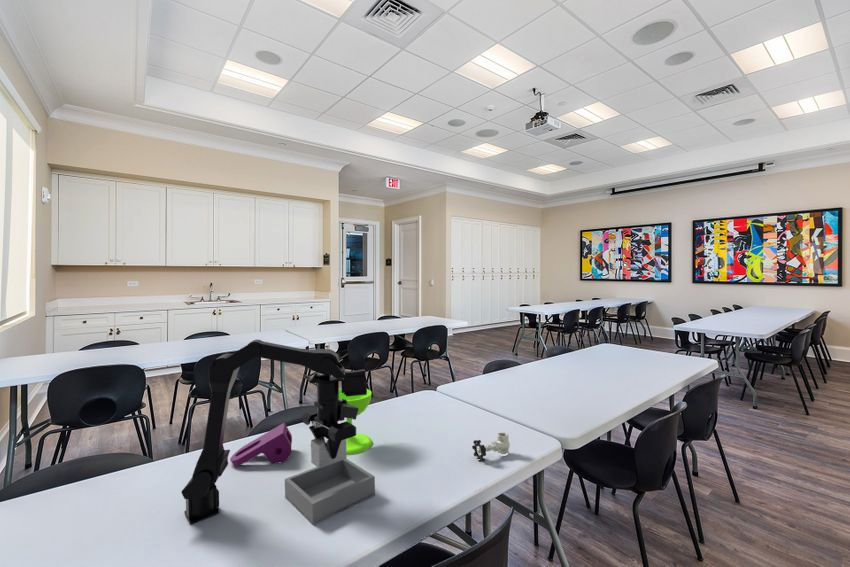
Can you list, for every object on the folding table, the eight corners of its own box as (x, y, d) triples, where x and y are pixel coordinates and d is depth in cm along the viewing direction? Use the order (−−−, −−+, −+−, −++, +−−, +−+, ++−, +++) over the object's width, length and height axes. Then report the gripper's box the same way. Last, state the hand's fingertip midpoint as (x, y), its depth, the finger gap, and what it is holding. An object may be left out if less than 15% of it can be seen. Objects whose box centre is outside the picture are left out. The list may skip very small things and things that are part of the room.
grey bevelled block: (319, 468, 98) (319, 445, 98) (311, 462, 101) (310, 440, 101) (346, 458, 104) (346, 436, 104) (338, 452, 107) (337, 431, 107)
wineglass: (352, 459, 124) (351, 403, 123) (316, 449, 131) (315, 397, 131) (381, 440, 138) (380, 390, 137) (347, 432, 145) (346, 385, 145)
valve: (502, 449, 129) (472, 456, 124) (501, 429, 129) (471, 436, 124) (514, 457, 123) (483, 465, 118) (514, 437, 123) (483, 444, 118)
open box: (312, 524, 91) (312, 504, 91) (285, 497, 102) (284, 479, 102) (374, 494, 103) (374, 476, 103) (343, 473, 115) (343, 456, 115)
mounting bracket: (241, 487, 119) (295, 454, 124) (227, 465, 118) (283, 432, 122) (245, 473, 128) (296, 442, 133) (233, 452, 127) (284, 422, 131)
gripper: (373, 398, 101) (374, 457, 101) (336, 384, 115) (337, 436, 115) (335, 408, 93) (336, 472, 94) (301, 392, 107) (302, 448, 107)
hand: (329, 455), depth 103 cm, fingers closed on grey bevelled block, 4 cm apart
